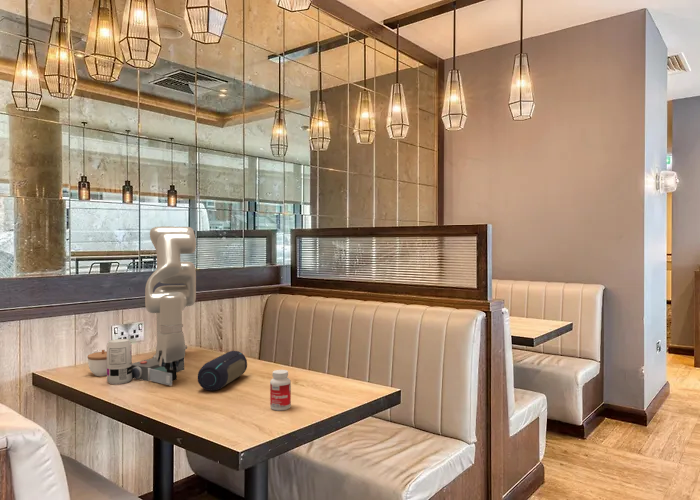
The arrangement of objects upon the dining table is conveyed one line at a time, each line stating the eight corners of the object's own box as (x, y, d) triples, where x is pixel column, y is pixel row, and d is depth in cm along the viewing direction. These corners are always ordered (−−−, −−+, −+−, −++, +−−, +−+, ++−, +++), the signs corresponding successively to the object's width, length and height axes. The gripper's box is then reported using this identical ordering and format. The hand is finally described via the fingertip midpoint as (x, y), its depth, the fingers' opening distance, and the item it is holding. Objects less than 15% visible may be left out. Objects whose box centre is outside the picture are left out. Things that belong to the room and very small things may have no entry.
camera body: (164, 367, 208) (164, 353, 208) (186, 370, 203) (186, 356, 203) (125, 378, 191) (124, 363, 191) (147, 382, 186) (147, 366, 186)
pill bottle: (268, 411, 153) (268, 374, 153) (272, 404, 159) (271, 369, 159) (289, 411, 153) (289, 373, 153) (292, 404, 159) (291, 368, 159)
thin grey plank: (172, 385, 180) (172, 373, 180) (169, 386, 179) (169, 374, 179) (151, 380, 187) (151, 368, 187) (148, 381, 186) (148, 369, 186)
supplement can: (102, 383, 185) (101, 341, 185) (121, 377, 192) (121, 337, 192) (117, 385, 181) (116, 343, 181) (136, 380, 189) (136, 339, 188)
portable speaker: (221, 394, 170) (221, 364, 170) (194, 393, 172) (193, 363, 172) (250, 375, 195) (250, 349, 195) (226, 374, 197) (226, 348, 197)
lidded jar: (124, 370, 203) (123, 347, 203) (108, 378, 192) (108, 353, 192) (98, 370, 204) (98, 346, 204) (81, 377, 193) (81, 352, 193)
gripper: (178, 325, 192) (179, 374, 192) (147, 331, 179) (147, 384, 179) (194, 326, 189) (194, 376, 189) (162, 333, 175) (163, 386, 176)
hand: (171, 380), depth 184 cm, fingers closed
